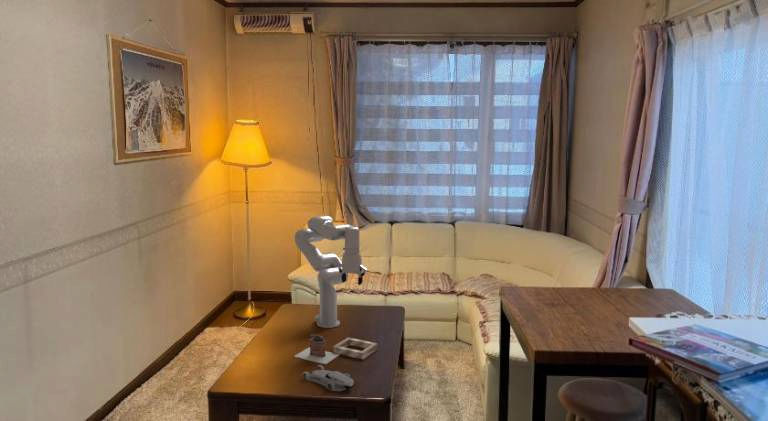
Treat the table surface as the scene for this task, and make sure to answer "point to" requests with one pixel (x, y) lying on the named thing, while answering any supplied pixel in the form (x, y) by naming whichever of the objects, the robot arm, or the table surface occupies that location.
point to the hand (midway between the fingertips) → (352, 283)
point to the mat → (322, 360)
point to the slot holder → (368, 346)
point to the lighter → (317, 346)
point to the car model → (329, 379)
